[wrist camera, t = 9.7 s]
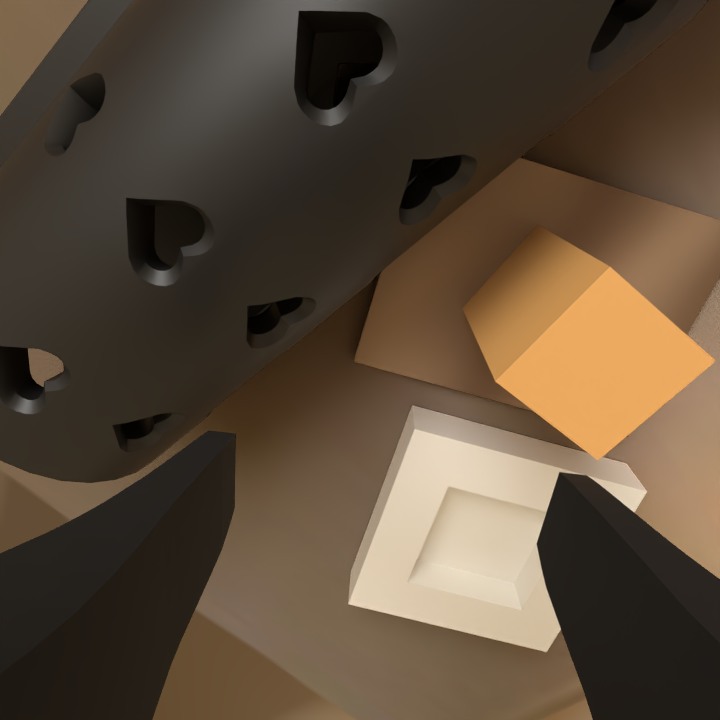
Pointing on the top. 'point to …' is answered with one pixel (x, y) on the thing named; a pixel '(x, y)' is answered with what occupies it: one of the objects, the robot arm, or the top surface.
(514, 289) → the plug
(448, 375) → the pad
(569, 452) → the socket block
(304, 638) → the top surface
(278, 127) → the muzzle brake
